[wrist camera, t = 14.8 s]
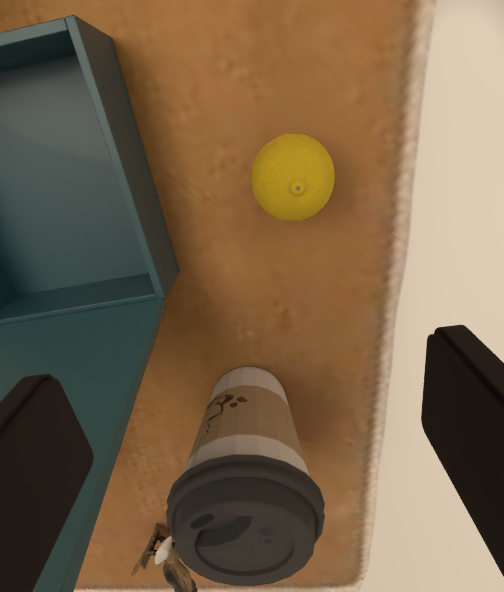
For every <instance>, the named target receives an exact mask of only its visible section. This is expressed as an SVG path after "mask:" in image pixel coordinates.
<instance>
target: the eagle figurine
mask: <svg viewBox="0 0 504 592" xmlns="http://www.w3.org/2000/svg"><path fill="white" fill-rule="evenodd" d="M157 540H159V541H160V542H161V543H162V544H161V545H160V547H159V548H158V550H154V546H155V544H156V543H157ZM151 555H154V556H155V565H157V564H159V563H161V562H163V561H165V564H164V566H163V572H164V576H165V579H166V581H167V583H168V584H171V585H172V586H173V588H174V589H175V592H197V588H196V587H195V586H196V584H195V582H194V581H193V579H192V578H191V576H190V573H189V571H188V569H187V568H186V567H185V566H184V565H183V564H182V563H181V562H180V561H179V558H180V556H179V555H178V553H177V552H176V544H175V543H172V536H169V537H168V538H167V539H166V538H165V537H163V536H161V535H160V530H159V526H158V524H157V525H156V526H155V531H154V534H153V536H152V538H151V540H150V541H149V543H148V545H147V547H146V549H145V551H144V552H143V554H142V555H141V557H140V559H139V561H138V563H137V564H136V566H135V568H134V570H133V572H132V574H131V576H133V575H134V574H135V573H136V572H137V570H138V569H139V568H140V566H142V567H143V569H145V568H146V566H147V563H148V561H149V558H150V556H151Z"/></svg>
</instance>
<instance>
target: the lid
mask: <svg viewBox="0 0 504 592" xmlns="http://www.w3.org/2000/svg"><path fill="white" fill-rule="evenodd" d="M164 310H165V305H164V302H163V300H162V299H157V300H151V301H145V302H139V303H133V304H127V305H121V306H115V307H109V308H103V309H97V310H91V311H85V312H79V313H73V314H67V315H60V316H54V317H48V318H42V319H36V320H30V321H24V322H18V323H12V324H6V325H0V402H1V400H2V399H3V398H4V397H5V396H6V395H7V394H8V393H9V392H10V391H11V389H12V388H13V387H14V386H15V385H16V384H17V383H18V382H19V381H20V380H21V379H22V378H23V377H26V376H33V375H41V374H50V375H51V376H53V378H54V379H57V380H59V382H60V383H61V385H62V387H63V389H64V391H65V394H66V396H67V398H68V400H69V402H70V404H71V406H72V408H73V410H74V413H75V415H76V417H77V419H78V421H79V423H80V425H81V427H82V429H83V432H84V434H85V436H86V438H87V440H88V442H89V444H90V446H91V448H92V451H93V455H94V459H93V464H92V467H91V469H90V471H89V473H88V476H87V478H86V480H85V482H84V484H83V486H82V488H81V490H80V492H79V495H78V497H77V499H76V501H75V503H74V505H73V507H72V509H71V511H70V514H69V516H68V518H67V520H66V522H65V524H64V526H63V528H62V530H61V533H60V535H59V537H58V539H57V541H56V543H55V545H54V547H53V549H52V552H51V554H50V556H49V558H48V560H47V562H46V564H45V566H44V568H43V571H42V573H41V575H40V577H39V579H38V581H37V583H36V585H35V587H34V590H33V592H73V591H74V588H75V585H76V582H77V579H78V576H79V573H80V570H81V567H82V563H83V560H84V557H85V554H86V551H87V548H88V545H89V542H90V539H91V536H92V533H93V529H94V526H95V523H96V520H97V517H98V514H99V511H100V508H101V505H102V502H103V498H104V495H105V492H106V489H107V486H108V483H109V480H110V477H111V474H112V471H113V467H114V464H115V461H116V458H117V455H118V452H119V449H120V446H121V443H122V440H123V437H124V433H125V430H126V427H127V424H128V421H129V418H130V415H131V412H132V409H133V406H134V402H135V399H136V396H137V393H138V390H139V387H140V384H141V381H142V378H143V375H144V372H145V368H146V365H147V362H148V359H149V356H150V353H151V350H152V347H153V344H154V341H155V337H156V334H157V331H158V328H159V325H160V322H161V319H162V316H163V313H164Z"/></svg>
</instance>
